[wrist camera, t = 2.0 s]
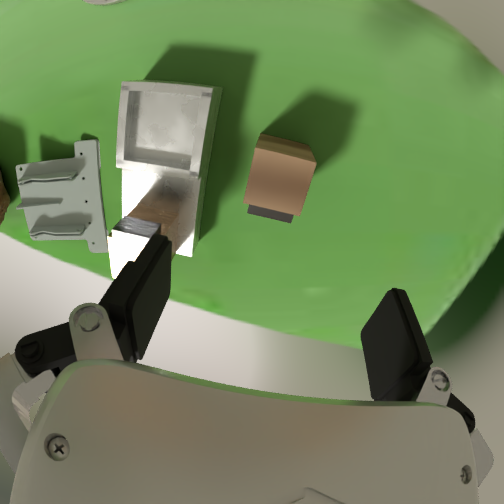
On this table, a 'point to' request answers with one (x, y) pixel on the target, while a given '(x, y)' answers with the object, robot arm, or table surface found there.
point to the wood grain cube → (279, 178)
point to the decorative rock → (3, 200)
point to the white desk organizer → (162, 164)
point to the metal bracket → (65, 197)
